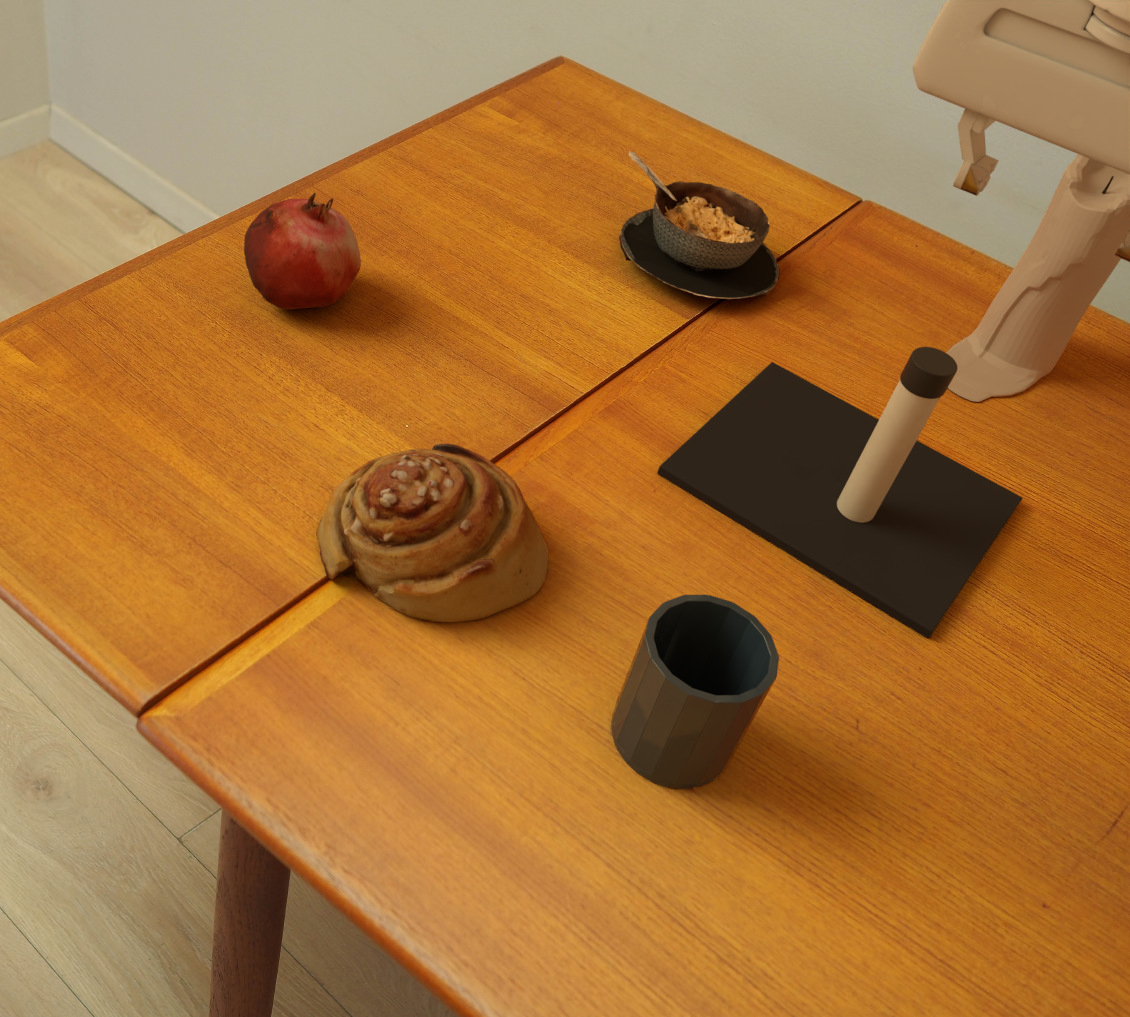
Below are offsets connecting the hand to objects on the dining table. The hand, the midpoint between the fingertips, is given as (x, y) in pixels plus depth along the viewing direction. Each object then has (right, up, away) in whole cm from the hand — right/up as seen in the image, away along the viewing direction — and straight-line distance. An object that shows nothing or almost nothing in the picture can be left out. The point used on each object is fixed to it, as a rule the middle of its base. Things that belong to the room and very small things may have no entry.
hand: (1046, 222), depth 65 cm
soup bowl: (-11, +7, +42) cm, 44 cm away
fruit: (-46, +1, +31) cm, 56 cm away
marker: (-4, -16, +20) cm, 26 cm away
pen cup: (-20, -30, +5) cm, 37 cm away
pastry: (-35, -19, +13) cm, 42 cm away
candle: (+14, -4, +36) cm, 39 cm away
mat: (-4, -15, +22) cm, 27 cm away
